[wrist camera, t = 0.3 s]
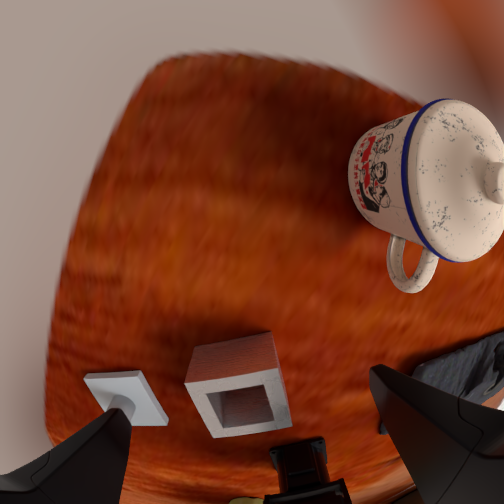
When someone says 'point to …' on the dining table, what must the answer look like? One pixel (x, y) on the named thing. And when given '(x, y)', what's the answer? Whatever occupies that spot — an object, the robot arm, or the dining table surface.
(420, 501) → the pitcher
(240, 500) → the plant pot
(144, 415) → the shaft base
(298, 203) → the dining table surface
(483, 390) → the dark slate chunk
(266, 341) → the collar
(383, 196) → the teacup with lid
